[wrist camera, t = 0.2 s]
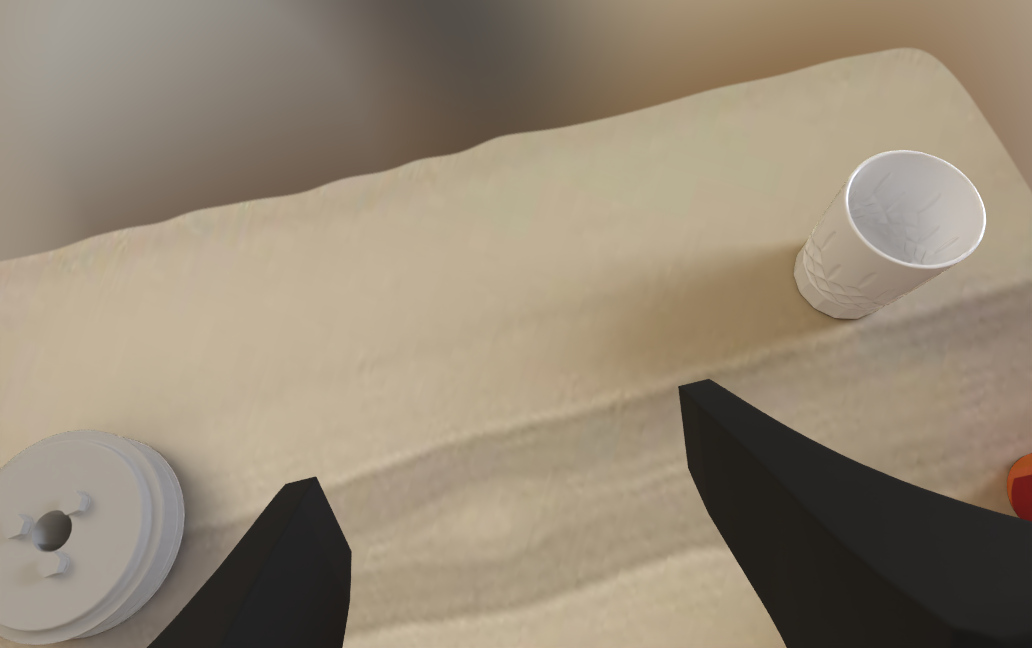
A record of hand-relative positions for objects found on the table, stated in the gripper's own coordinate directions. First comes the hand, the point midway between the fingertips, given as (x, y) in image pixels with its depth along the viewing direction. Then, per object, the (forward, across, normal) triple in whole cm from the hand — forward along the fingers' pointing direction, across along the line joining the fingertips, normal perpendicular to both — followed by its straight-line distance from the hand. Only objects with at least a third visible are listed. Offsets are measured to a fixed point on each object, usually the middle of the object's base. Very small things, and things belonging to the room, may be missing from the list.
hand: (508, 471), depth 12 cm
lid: (+25, +30, +18) cm, 43 cm away
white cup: (+31, -25, +15) cm, 42 cm away
